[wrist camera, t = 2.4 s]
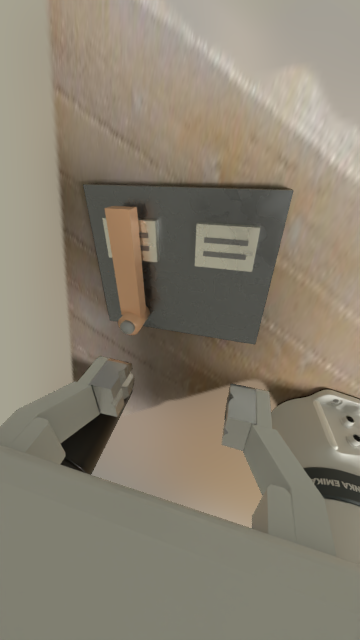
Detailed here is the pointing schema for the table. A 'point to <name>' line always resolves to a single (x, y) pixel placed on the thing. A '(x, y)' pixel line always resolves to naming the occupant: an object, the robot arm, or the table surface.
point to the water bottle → (89, 442)
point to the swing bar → (127, 266)
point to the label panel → (197, 254)
